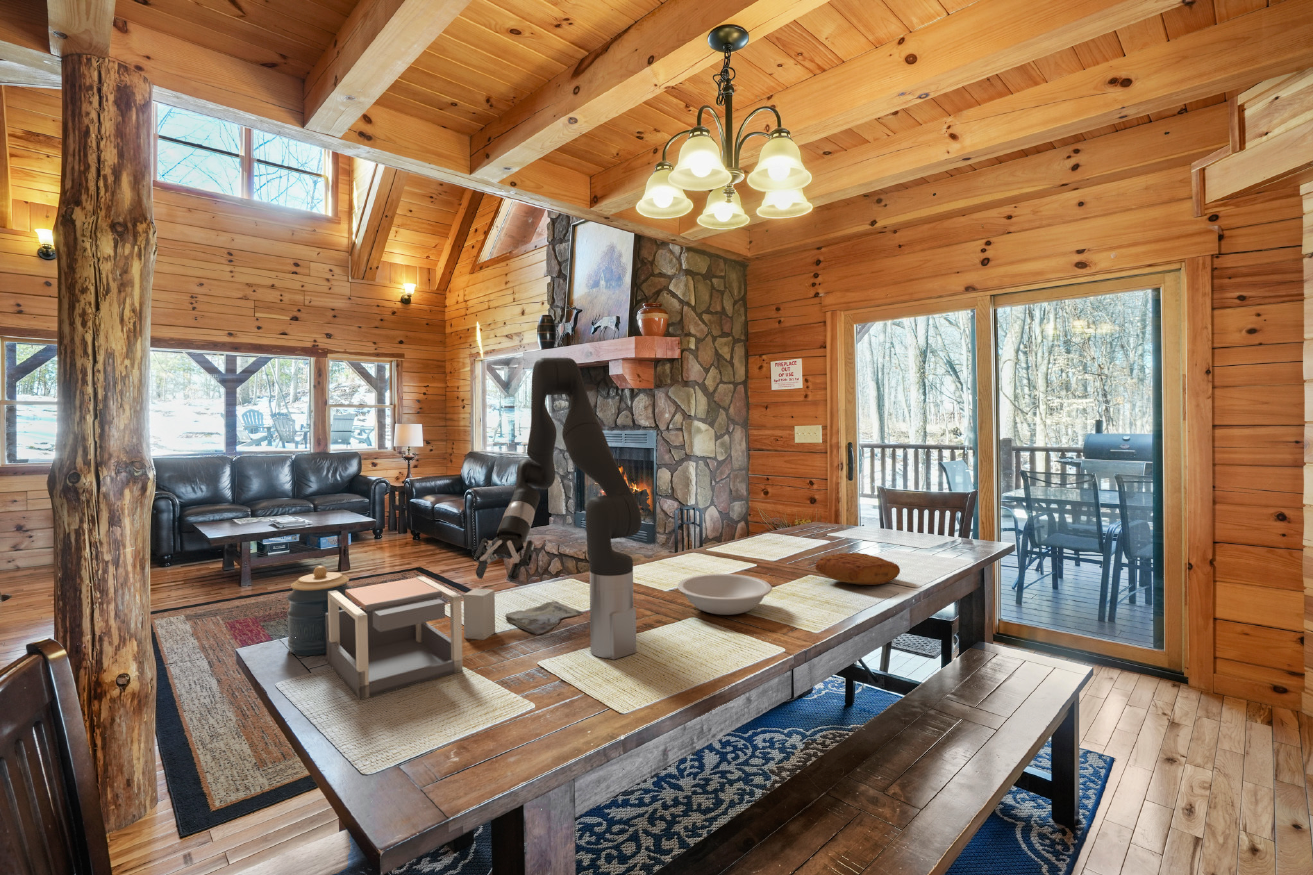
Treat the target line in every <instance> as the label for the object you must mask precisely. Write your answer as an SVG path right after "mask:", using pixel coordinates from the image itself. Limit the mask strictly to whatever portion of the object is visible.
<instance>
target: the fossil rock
mask: <svg viewBox="0 0 1313 875" xmlns="http://www.w3.org/2000/svg"><path fill="white" fill-rule="evenodd" d="M583 614H584V612H583V611H581V610H579V609H576V608H573V607H571V606H568V605H566V604H563V603H560V602H559V601H557V600H553V601H547V602H545V603H542V604H541V605H538V606H533V607H530V608H527V609H525V610H521V609H519V610H516V611H511V612H508V613H505V615H504V617H505V620H506V621H507V622H509V623H511V625H515V626H517V627H518V628H519V629H521V630H523V631H525V632H528V633H531V634H534V635H535V636H540V635H543V634H545V633H547V632H549V631H551V630H552V629H553V628H554V627H557V626H558V625H559V623H560V622H561V620H563V619H567V618H574V617H578V616H581V615H583Z"/></svg>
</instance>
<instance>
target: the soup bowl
mask: <svg viewBox="0 0 1313 875" xmlns="http://www.w3.org/2000/svg"><path fill="white" fill-rule="evenodd" d="M677 589H678V591H679V592H681V593H682V594H684V596H685V597H686V598H687V600H688V602H689V603H690V604H692V605H693V606H694V607H696V608H697V609H699V610H701V611H703V612H705V613H710V614H714V615H724V616H725V615H728V616H729V615H731V616H732V615H738V614H739V615H740V614H743V613H746V612H749V611H751V610H753V609H754V608H755V607H757V606H758V605H759V604H761V602H762V601H763V600H764V598H765V596H768V595H769V594H770V593H771V592H772V590H773V589H772V585H771V584H770V583H769V582H768V581H766V580H764V579H761V578H757V577H754V576H749V575H744V574H743V575H742V574H736V573H735V574H734V573H711V574H710V573H709V574H700V575H695V576H690V577H687V578H684V579H682V580H680V581H679V582H678V583H677Z"/></svg>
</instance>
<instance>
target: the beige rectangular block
mask: <svg viewBox="0 0 1313 875" xmlns="http://www.w3.org/2000/svg"><path fill="white" fill-rule="evenodd" d="M495 595H496V594H495V589H489V588H472V589H471V590H470V591H467V592H466V593H464V594H463V637H464V639H470V640H472V639H473V640H483V641H485V640H486V639H487V638H489V637H491V636H492V635H494V634H495V633H496V605H495V604H496V600H495V599H496V598H495V597H496V596H495Z"/></svg>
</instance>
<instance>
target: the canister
mask: <svg viewBox="0 0 1313 875" xmlns="http://www.w3.org/2000/svg"><path fill="white" fill-rule="evenodd" d="M349 581H350V578H349V577H348V576H346V575H343V574H342V573H341V572H337V571H336V572H335V571H328V569H327V568H326V567H325V566H324V565H318V566H316V567H315V568H314V570H313V573H310V574H306V575H303V576H302V575H301V576H299V578H298V579H297V580H295V581H294V582H292V583H291V585H290V588H291V589H292V591H291V592H289V593H287V596H286V600H287V601H288V602H289V608H288V610H287V612H286V615H287V624H288V625H287V626H288V627H287V628H288V629H287V630H288V638H287V647H288V648H289V649H288V651H289V652H290V653H291V654H293V655H297V656H304V657H305V656H317V655H326V620H325V613H328V592H329V591H334V590H337V591H338V592H339V593H341V594H342V595H343V596H345V597H346V598H347V599H348V600H350V601H351V602H352V603H353V604H355V602H354V601H353V600H351V599H350V598H349V597H347V596H346V595H345V590H348V589H354V587H353V586H351V585H350V584H348V582H349ZM340 610H343V609H342V608H341V607H340V606H339V611H340ZM295 637H296V638H295Z"/></svg>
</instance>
